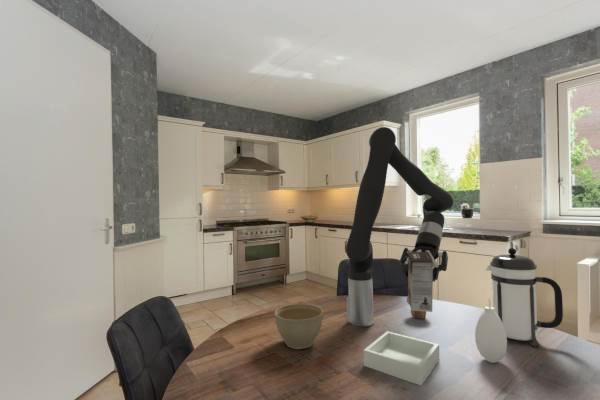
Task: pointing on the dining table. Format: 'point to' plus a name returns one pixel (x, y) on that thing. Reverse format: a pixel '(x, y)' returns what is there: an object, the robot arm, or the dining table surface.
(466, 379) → the dining table surface
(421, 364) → the tub
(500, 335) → the sauce bottle
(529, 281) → the coffee press
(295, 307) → the planter bowl
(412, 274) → the coffee box
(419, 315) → the cupcake
